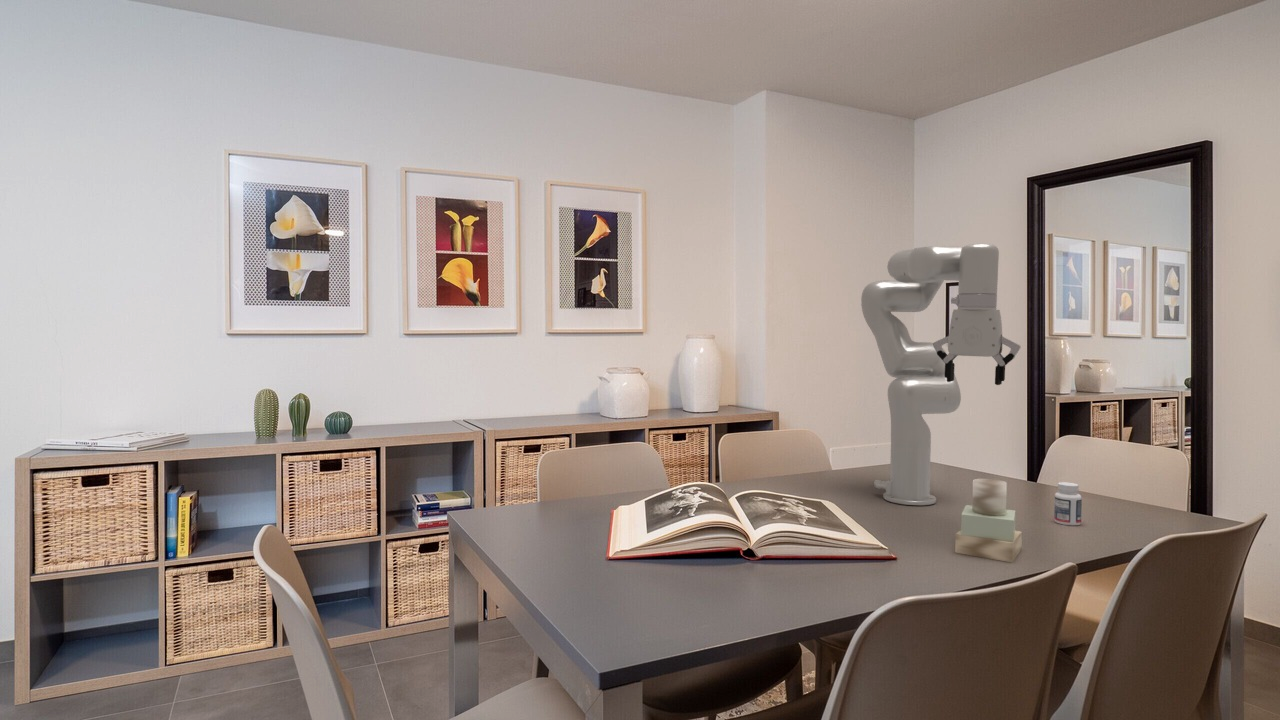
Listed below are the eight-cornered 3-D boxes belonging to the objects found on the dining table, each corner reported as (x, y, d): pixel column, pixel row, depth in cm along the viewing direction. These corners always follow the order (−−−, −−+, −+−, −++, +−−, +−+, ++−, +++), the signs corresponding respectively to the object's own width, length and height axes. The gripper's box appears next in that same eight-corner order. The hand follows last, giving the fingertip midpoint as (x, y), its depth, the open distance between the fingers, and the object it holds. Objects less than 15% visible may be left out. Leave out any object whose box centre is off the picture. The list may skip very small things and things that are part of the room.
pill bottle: (1074, 520, 167) (1075, 481, 167) (1085, 526, 162) (1086, 486, 162) (1049, 519, 168) (1050, 481, 168) (1060, 525, 163) (1061, 485, 162)
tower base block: (955, 554, 142) (955, 533, 142) (967, 542, 150) (967, 523, 150) (1011, 564, 136) (1012, 543, 136) (1021, 551, 144) (1022, 531, 144)
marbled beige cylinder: (969, 513, 142) (969, 482, 142) (976, 507, 147) (976, 477, 147) (1003, 517, 139) (1003, 486, 139) (1008, 511, 144) (1009, 480, 144)
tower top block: (961, 534, 141) (961, 514, 141) (965, 524, 149) (965, 504, 149) (1013, 541, 137) (1013, 520, 137) (1014, 530, 145) (1015, 510, 145)
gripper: (929, 302, 158) (927, 381, 159) (1018, 302, 148) (1014, 387, 149) (939, 303, 164) (937, 379, 165) (1025, 303, 154) (1021, 384, 155)
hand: (973, 382), depth 157 cm, fingers open, 9 cm apart
